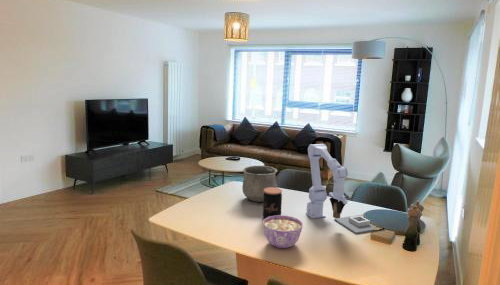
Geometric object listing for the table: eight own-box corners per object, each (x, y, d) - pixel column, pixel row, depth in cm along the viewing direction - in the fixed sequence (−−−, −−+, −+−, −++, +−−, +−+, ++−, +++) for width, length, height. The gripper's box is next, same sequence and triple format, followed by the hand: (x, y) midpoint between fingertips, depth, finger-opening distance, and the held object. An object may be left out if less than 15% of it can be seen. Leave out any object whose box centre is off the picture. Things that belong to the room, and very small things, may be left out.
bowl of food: (279, 258, 168) (280, 234, 166) (254, 241, 184) (254, 220, 182) (310, 247, 180) (311, 225, 178) (283, 232, 196) (284, 212, 193)
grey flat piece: (355, 234, 196) (356, 228, 196) (334, 220, 215) (334, 214, 214) (384, 229, 204) (385, 223, 203) (361, 216, 222) (362, 210, 221)
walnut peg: (335, 218, 199) (336, 205, 198) (331, 216, 203) (332, 202, 202) (341, 217, 201) (342, 204, 199) (337, 215, 205) (338, 201, 203)
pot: (235, 196, 251) (236, 166, 247) (264, 192, 262) (265, 163, 258) (252, 208, 229) (253, 176, 225) (283, 203, 240) (285, 172, 236)
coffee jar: (259, 220, 211) (260, 191, 208) (267, 214, 220) (268, 186, 217) (276, 224, 206) (277, 194, 203) (283, 218, 216) (284, 189, 212)
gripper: (352, 192, 194) (350, 215, 196) (337, 184, 207) (335, 206, 210) (342, 193, 191) (340, 217, 194) (326, 185, 204) (324, 208, 207)
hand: (336, 212), depth 201 cm, fingers closed on walnut peg, 4 cm apart
